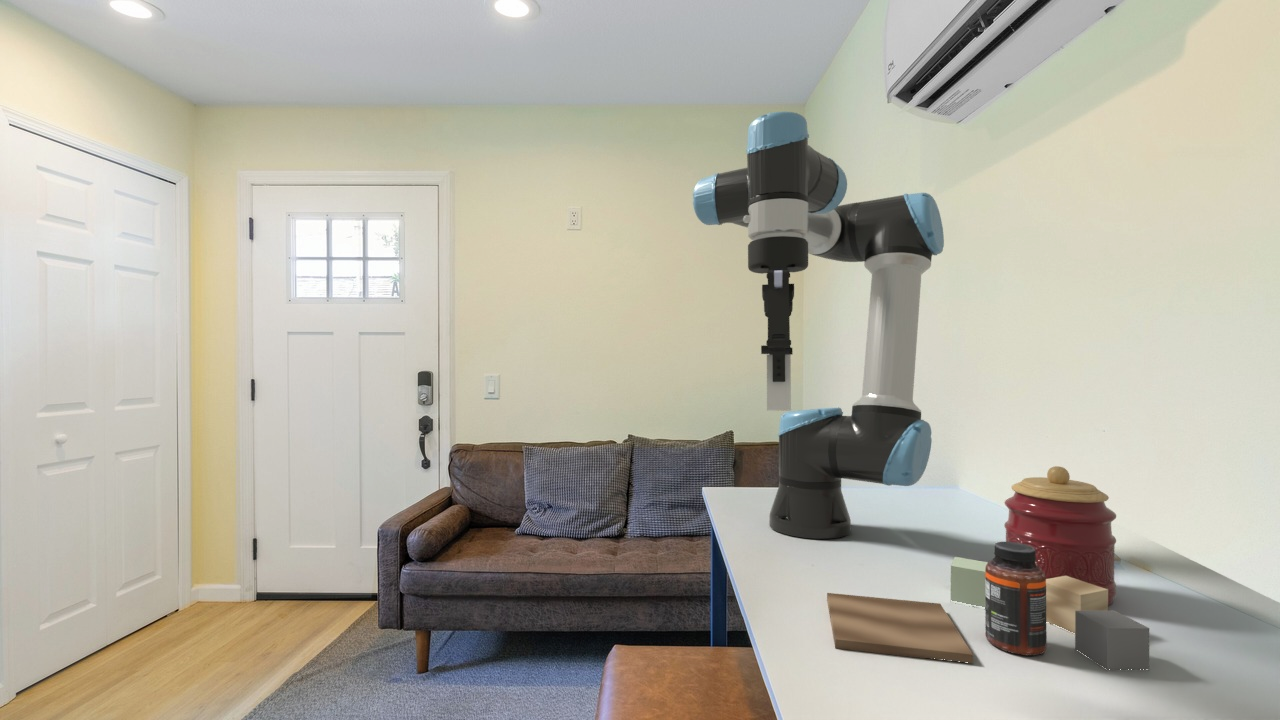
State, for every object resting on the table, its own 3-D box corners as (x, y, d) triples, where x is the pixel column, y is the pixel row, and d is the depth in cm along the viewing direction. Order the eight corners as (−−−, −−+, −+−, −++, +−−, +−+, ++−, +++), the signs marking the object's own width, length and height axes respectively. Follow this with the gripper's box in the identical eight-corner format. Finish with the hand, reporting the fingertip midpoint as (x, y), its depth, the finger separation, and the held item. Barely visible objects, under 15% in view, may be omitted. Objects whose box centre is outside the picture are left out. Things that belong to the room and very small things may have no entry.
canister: (1039, 609, 79) (1040, 474, 79) (985, 574, 92) (986, 458, 92) (1141, 611, 78) (1142, 475, 78) (1072, 575, 91) (1073, 459, 91)
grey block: (1075, 650, 68) (1075, 610, 68) (1114, 650, 68) (1114, 610, 68) (1107, 671, 63) (1107, 628, 63) (1149, 671, 63) (1149, 628, 63)
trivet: (827, 600, 81) (827, 592, 81) (940, 611, 78) (940, 603, 78) (835, 648, 67) (835, 639, 67) (972, 664, 64) (972, 654, 64)
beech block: (1038, 620, 76) (1039, 580, 76) (1065, 614, 77) (1065, 575, 77) (1080, 637, 71) (1080, 595, 71) (1107, 630, 73) (1108, 589, 73)
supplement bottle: (1050, 644, 69) (1051, 545, 69) (1041, 664, 64) (1042, 558, 64) (991, 629, 73) (991, 535, 73) (979, 646, 68) (979, 546, 68)
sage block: (954, 592, 84) (954, 556, 84) (991, 599, 82) (991, 563, 82) (950, 602, 81) (950, 565, 81) (989, 610, 78) (989, 572, 78)
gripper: (751, 257, 90) (752, 399, 90) (742, 219, 65) (743, 414, 65) (803, 254, 88) (804, 399, 88) (814, 215, 64) (815, 415, 64)
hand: (778, 406), depth 77 cm, fingers open, 13 cm apart
